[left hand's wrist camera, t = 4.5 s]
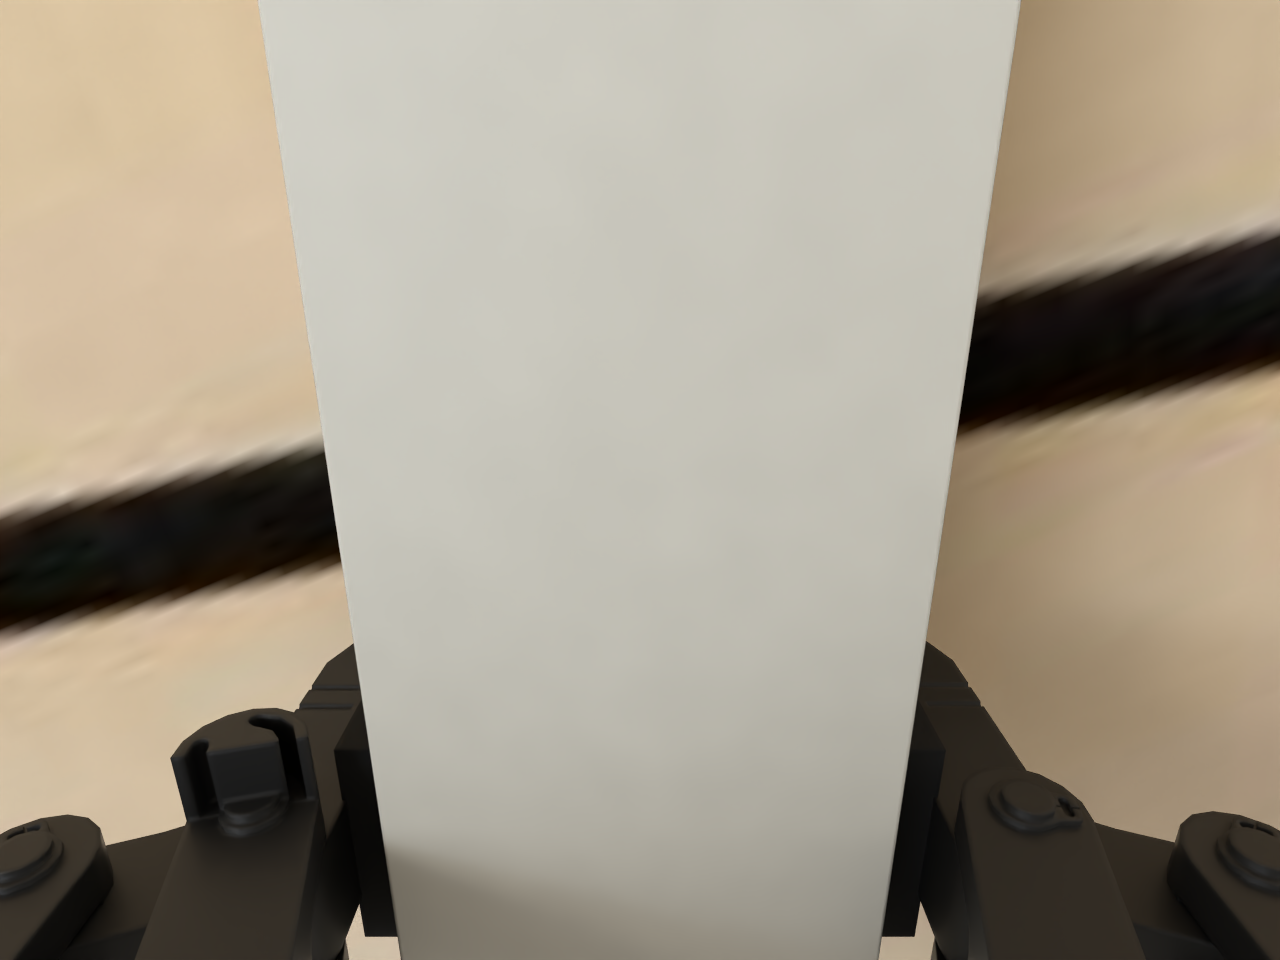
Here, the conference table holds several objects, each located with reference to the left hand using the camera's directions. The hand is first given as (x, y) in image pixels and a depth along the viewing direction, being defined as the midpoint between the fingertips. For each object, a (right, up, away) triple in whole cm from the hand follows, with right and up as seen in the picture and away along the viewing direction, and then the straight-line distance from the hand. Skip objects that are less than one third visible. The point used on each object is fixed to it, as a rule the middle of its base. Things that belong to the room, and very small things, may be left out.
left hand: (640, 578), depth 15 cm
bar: (0, +30, -11) cm, 32 cm away
